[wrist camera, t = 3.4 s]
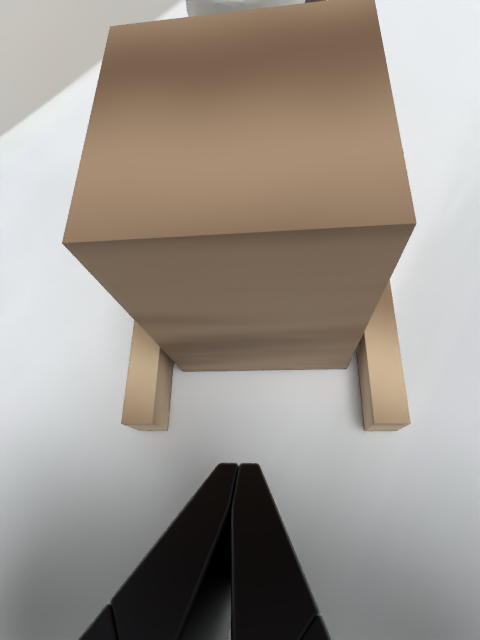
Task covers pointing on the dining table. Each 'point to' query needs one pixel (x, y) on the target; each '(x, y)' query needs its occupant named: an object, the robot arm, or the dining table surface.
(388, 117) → the block
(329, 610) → the dining table surface
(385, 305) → the channel
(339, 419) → the dining table surface
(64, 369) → the dining table surface
